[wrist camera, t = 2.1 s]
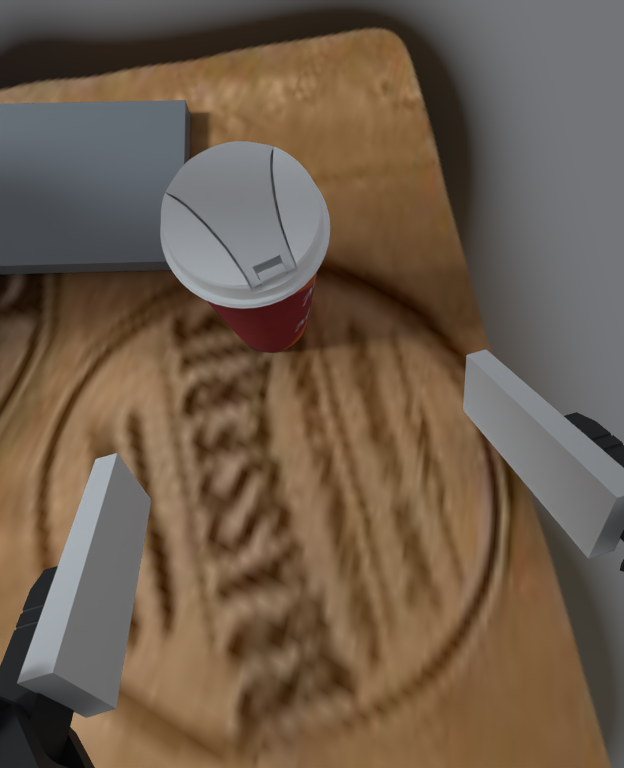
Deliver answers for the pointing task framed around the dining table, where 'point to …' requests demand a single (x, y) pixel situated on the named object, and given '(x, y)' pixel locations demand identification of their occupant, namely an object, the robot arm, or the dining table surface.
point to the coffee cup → (248, 238)
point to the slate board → (87, 184)
